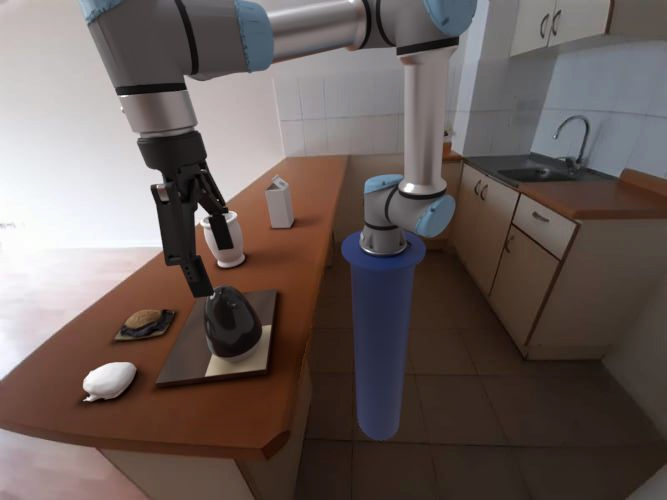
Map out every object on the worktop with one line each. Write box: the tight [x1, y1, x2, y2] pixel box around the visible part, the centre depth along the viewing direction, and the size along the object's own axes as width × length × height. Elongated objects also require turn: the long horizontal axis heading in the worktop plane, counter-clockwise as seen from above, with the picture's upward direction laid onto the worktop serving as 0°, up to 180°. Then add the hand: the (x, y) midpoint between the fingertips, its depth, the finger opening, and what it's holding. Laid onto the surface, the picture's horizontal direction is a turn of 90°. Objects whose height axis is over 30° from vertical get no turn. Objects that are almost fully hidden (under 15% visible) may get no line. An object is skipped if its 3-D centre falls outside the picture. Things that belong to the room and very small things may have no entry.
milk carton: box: [264, 173, 295, 229], centre depth 105 cm, size 7×7×19 cm
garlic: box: [82, 361, 137, 402], centre depth 51 cm, size 8×7×4 cm
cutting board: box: [154, 288, 278, 389], centre depth 61 cm, size 20×24×2 cm
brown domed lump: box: [114, 308, 176, 342], centre depth 64 cm, size 11×8×4 cm
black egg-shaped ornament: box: [204, 284, 263, 362], centre depth 51 cm, size 10×10×15 cm
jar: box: [199, 210, 246, 269], centre depth 84 cm, size 11×10×15 cm
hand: (216, 269), depth 46 cm, fingers open, 13 cm apart
